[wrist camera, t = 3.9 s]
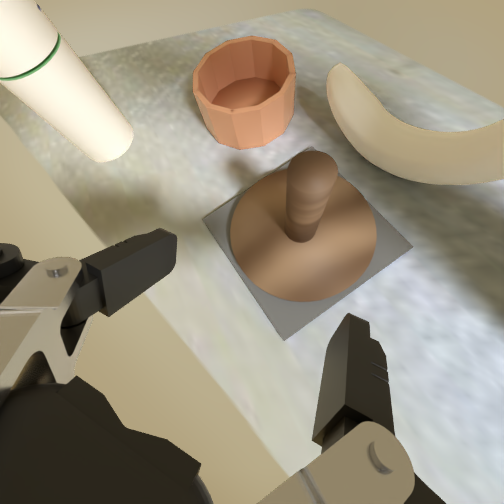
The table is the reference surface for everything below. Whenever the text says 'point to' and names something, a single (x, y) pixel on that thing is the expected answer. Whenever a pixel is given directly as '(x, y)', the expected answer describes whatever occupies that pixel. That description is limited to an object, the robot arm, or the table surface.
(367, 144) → the banana
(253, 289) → the rubber mat
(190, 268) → the table surface
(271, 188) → the walnut lid
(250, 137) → the terracotta bowl
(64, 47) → the cylindrical container
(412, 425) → the table surface
